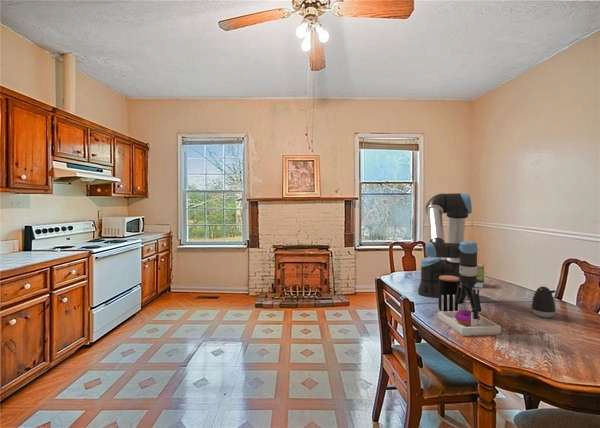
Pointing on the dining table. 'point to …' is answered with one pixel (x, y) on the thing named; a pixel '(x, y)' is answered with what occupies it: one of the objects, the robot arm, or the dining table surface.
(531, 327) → the dining table surface
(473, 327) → the tray
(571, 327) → the dining table surface
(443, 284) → the coffee jar
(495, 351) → the dining table surface
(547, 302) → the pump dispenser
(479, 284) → the tea box
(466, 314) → the donut
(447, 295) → the rack tines
